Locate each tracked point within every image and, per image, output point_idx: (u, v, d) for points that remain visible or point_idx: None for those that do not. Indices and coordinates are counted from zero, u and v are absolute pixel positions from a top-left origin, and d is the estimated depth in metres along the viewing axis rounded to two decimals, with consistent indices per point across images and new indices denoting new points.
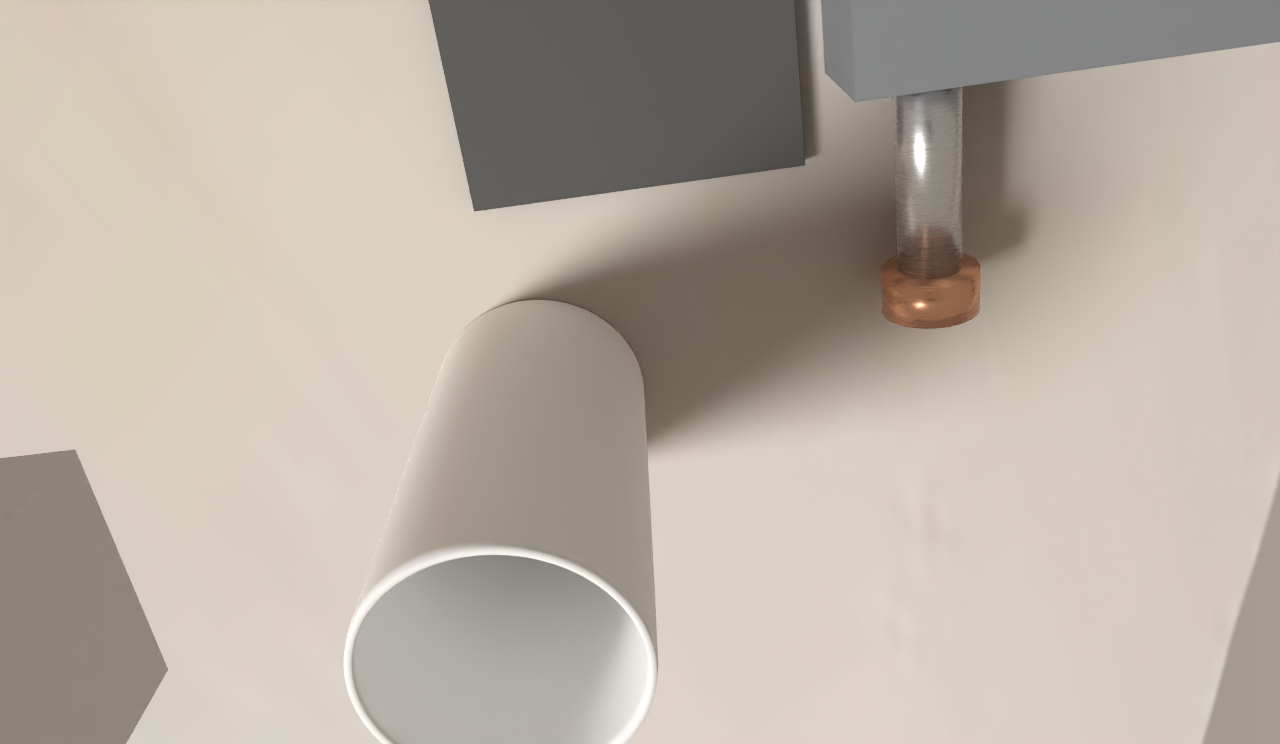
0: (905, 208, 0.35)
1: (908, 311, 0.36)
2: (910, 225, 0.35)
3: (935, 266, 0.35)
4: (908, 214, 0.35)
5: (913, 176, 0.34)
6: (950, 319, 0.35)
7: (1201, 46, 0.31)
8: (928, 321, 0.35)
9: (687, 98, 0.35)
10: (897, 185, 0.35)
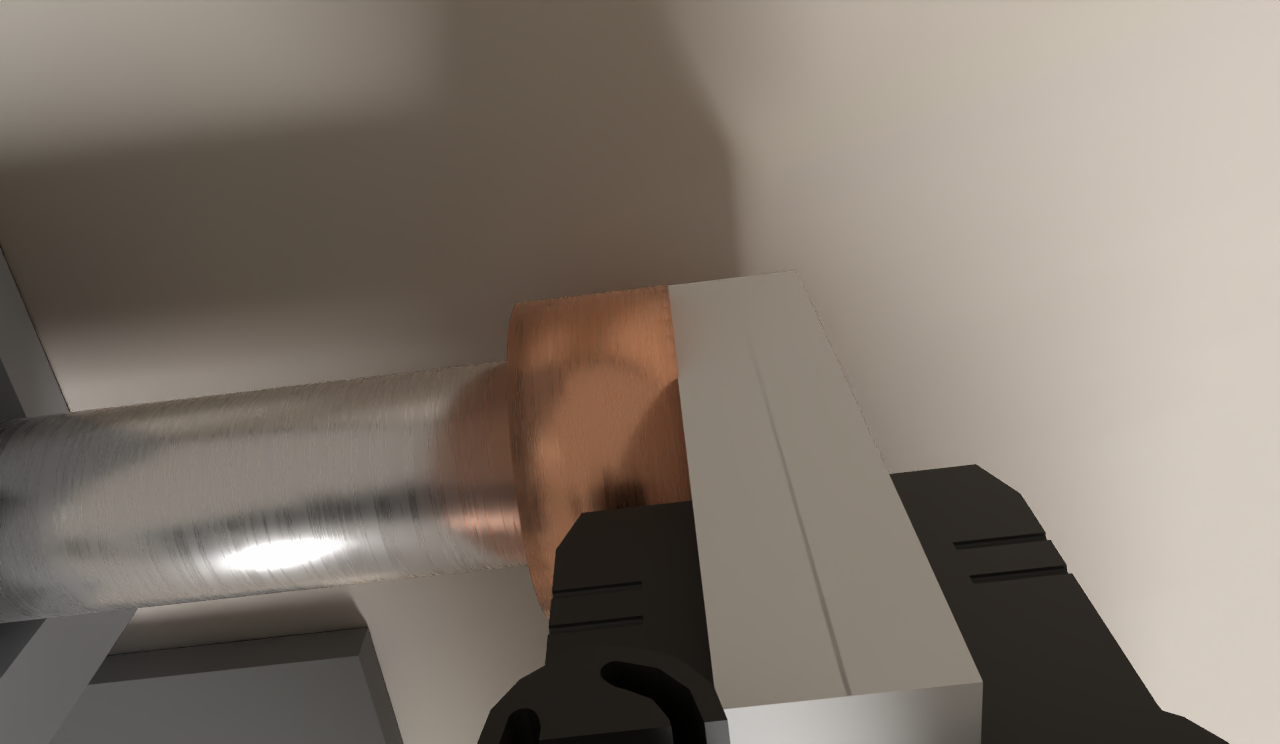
0: None
1: None
2: None
3: (486, 529, 0.10)
4: None
5: (202, 595, 0.11)
6: None
7: None
8: None
9: None
10: None
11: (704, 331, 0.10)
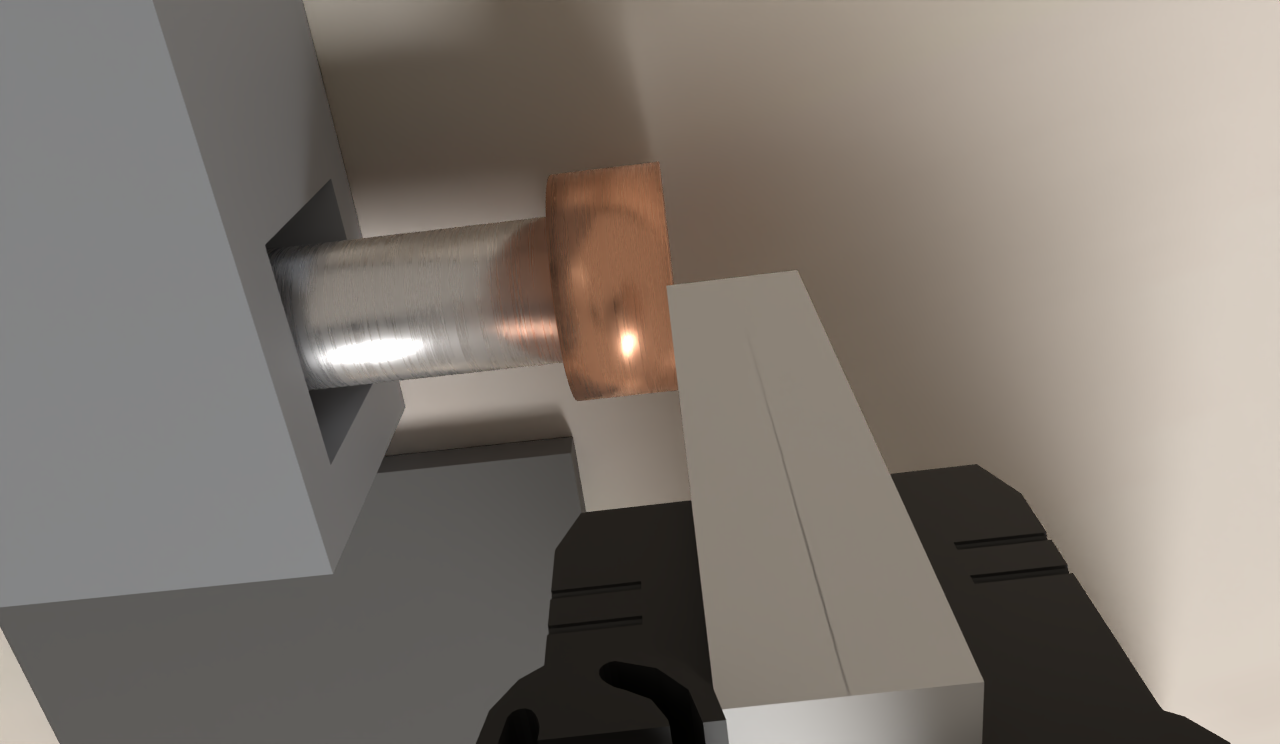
0: (410, 378, 0.15)
1: (641, 385, 0.15)
2: (445, 370, 0.15)
3: (530, 327, 0.14)
4: (420, 376, 0.15)
5: (327, 380, 0.15)
6: (653, 307, 0.14)
7: None
8: (659, 355, 0.14)
9: (456, 632, 0.21)
10: None
11: (704, 331, 0.10)
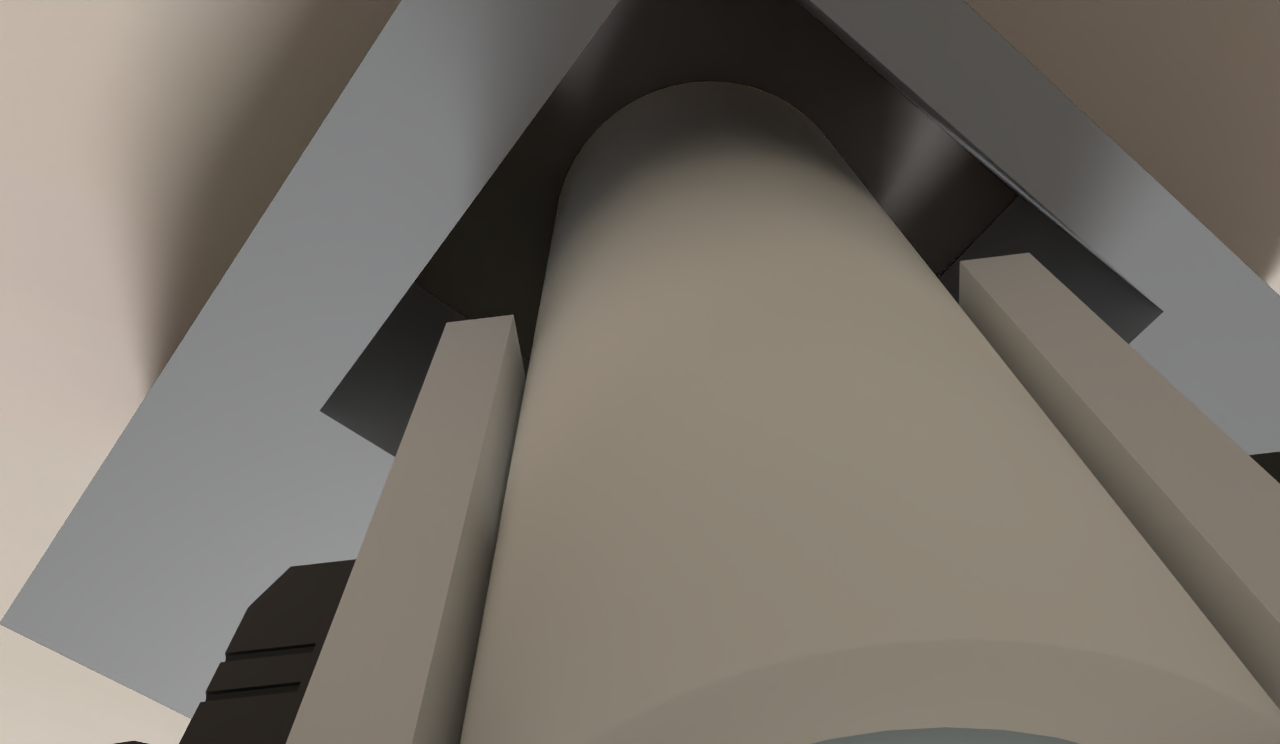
0: None
1: None
2: None
3: None
4: None
5: None
6: None
7: None
8: None
9: None
10: None
11: (458, 373, 0.10)
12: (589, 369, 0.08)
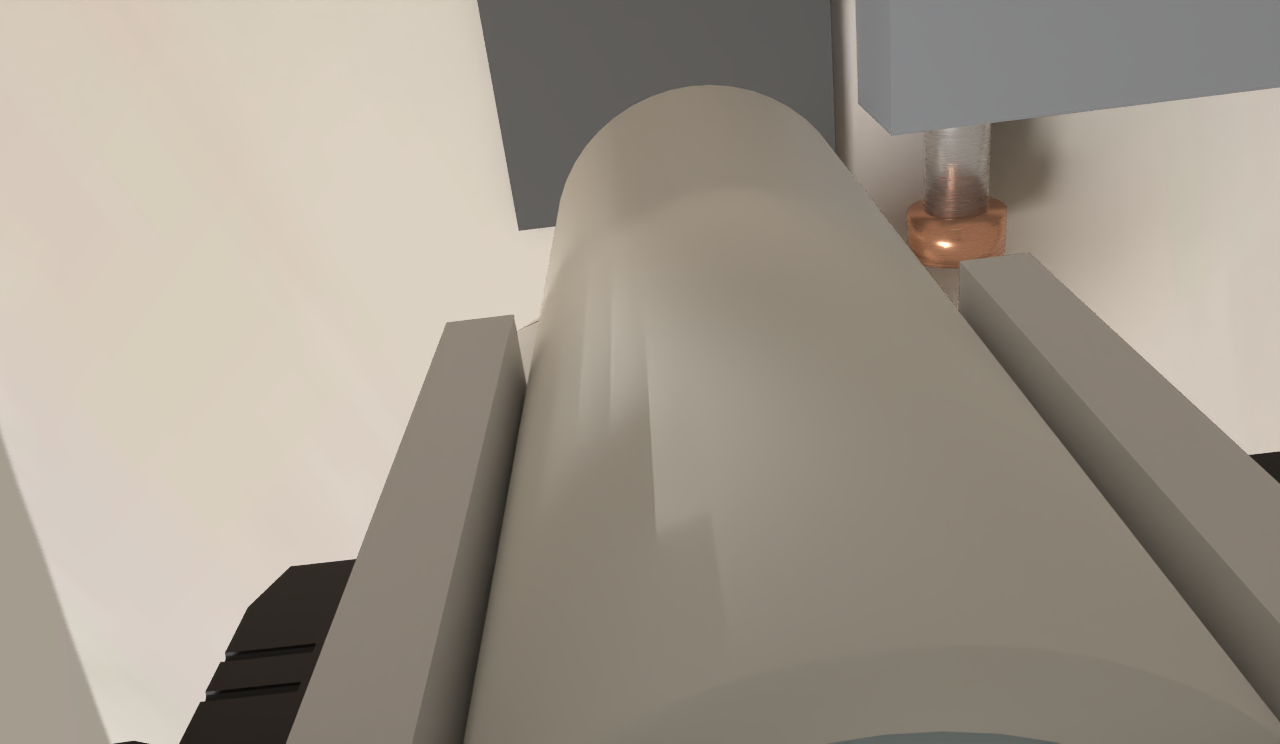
0: (934, 147, 0.35)
1: (935, 251, 0.36)
2: (939, 164, 0.35)
3: (963, 206, 0.35)
4: (937, 153, 0.35)
5: None
6: None
7: (1220, 88, 0.32)
8: (954, 261, 0.36)
9: None
10: None
11: (457, 374, 0.10)
12: (590, 375, 0.08)
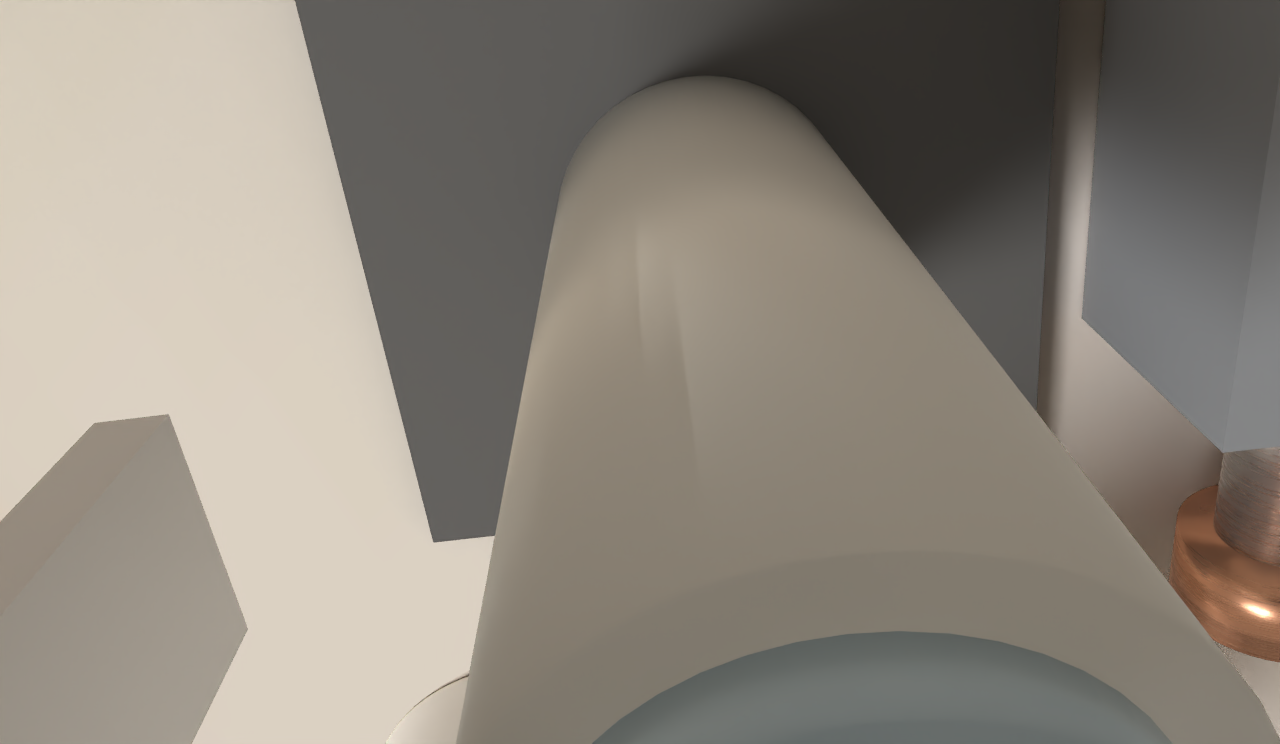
0: None
1: (1252, 628, 0.18)
2: (1273, 467, 0.17)
3: None
4: (1272, 447, 0.17)
5: None
6: None
7: None
8: None
9: None
10: None
11: (56, 496, 0.09)
12: (588, 339, 0.09)
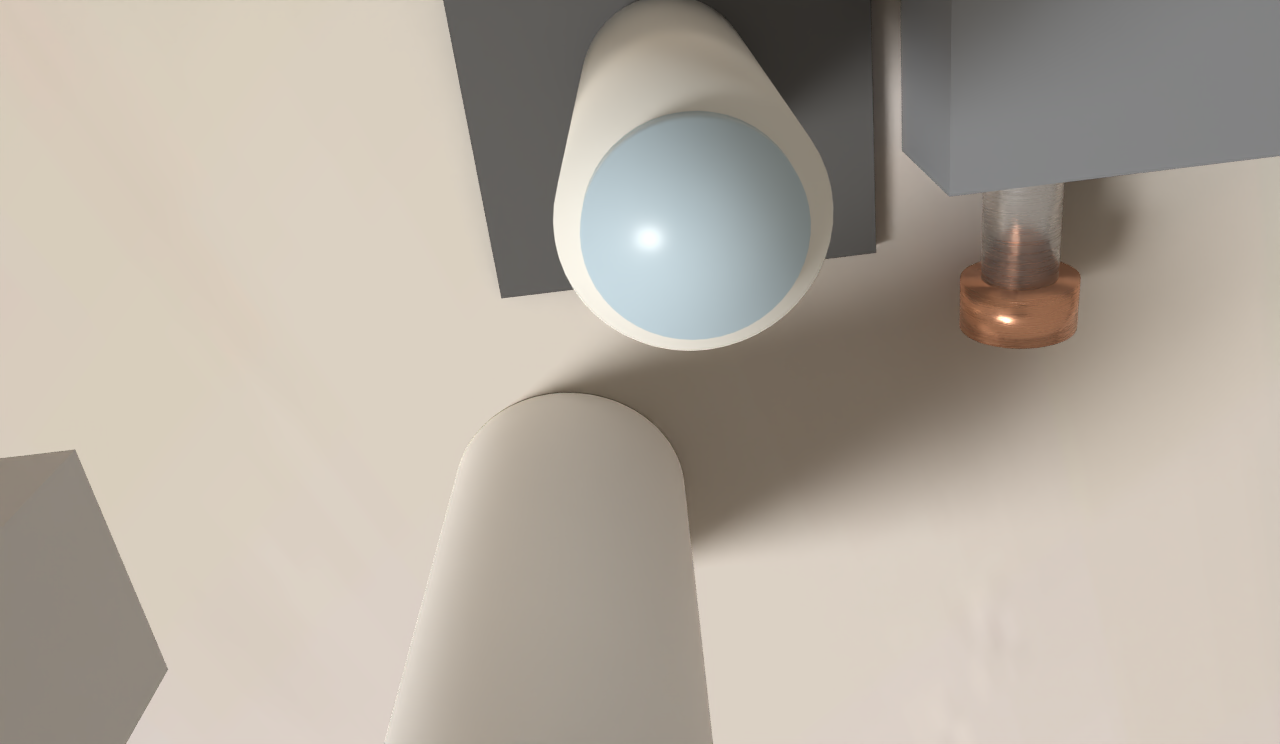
0: (996, 206, 0.29)
1: (995, 328, 0.30)
2: (1001, 226, 0.29)
3: (1029, 275, 0.30)
4: (999, 213, 0.29)
5: None
6: (1046, 338, 0.30)
7: None
8: (1019, 340, 0.30)
9: None
10: None
11: None
12: (602, 77, 0.21)
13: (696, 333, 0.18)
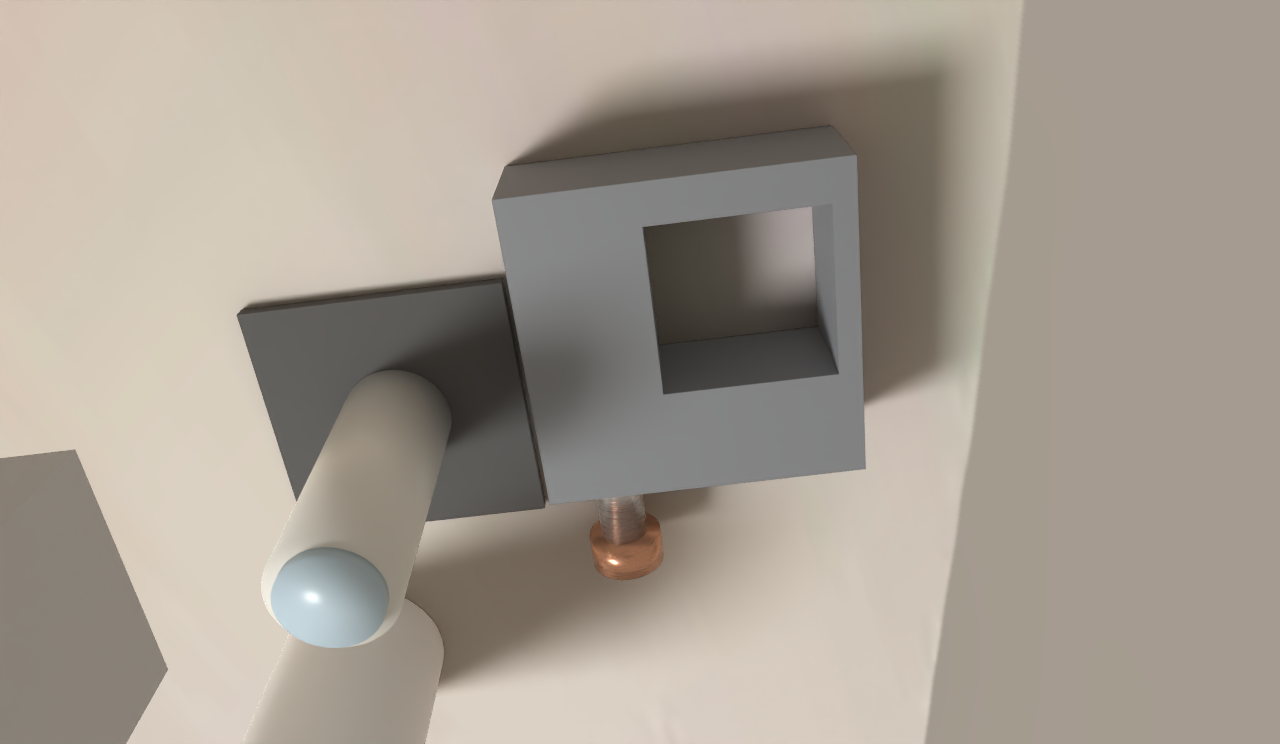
0: None
1: (604, 566, 0.48)
2: (602, 507, 0.48)
3: (621, 536, 0.48)
4: (599, 500, 0.47)
5: None
6: (633, 574, 0.48)
7: (783, 474, 0.45)
8: (617, 574, 0.48)
9: (455, 467, 0.49)
10: None
11: None
12: (306, 489, 0.39)
13: (337, 645, 0.37)
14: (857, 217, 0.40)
